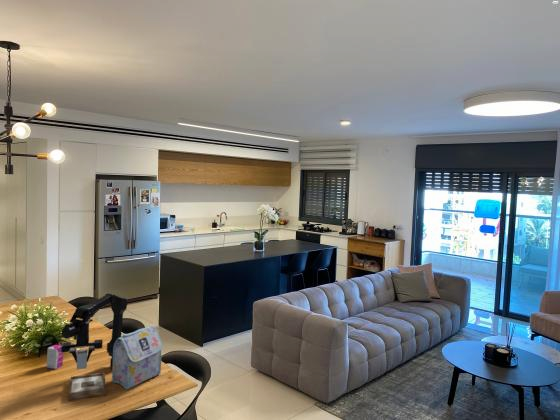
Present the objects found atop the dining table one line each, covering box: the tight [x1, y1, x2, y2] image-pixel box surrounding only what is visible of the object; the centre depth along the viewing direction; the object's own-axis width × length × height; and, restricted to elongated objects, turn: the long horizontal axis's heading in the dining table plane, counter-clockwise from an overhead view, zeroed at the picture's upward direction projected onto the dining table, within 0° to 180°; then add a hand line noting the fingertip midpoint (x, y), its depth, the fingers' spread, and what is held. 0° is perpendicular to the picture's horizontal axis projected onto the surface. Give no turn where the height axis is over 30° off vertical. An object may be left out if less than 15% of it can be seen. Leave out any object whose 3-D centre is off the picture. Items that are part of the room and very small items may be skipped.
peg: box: [76, 349, 88, 370], centre depth 208 cm, size 4×4×8 cm
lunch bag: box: [111, 325, 163, 390], centre depth 218 cm, size 22×17×26 cm
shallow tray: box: [68, 372, 106, 401], centre depth 207 cm, size 16×18×4 cm
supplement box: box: [46, 344, 64, 371], centre depth 228 cm, size 6×6×12 cm
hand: (82, 362), depth 209 cm, fingers closed on peg, 4 cm apart
